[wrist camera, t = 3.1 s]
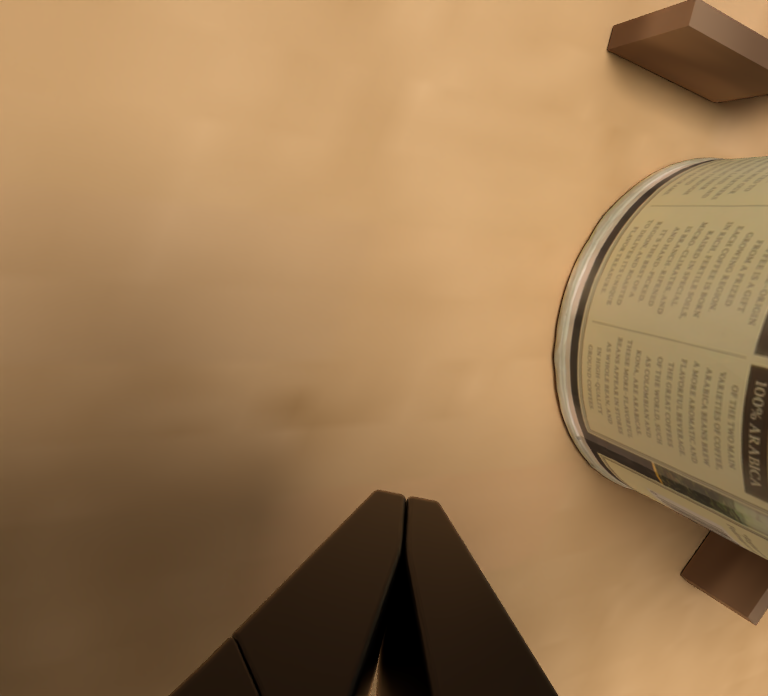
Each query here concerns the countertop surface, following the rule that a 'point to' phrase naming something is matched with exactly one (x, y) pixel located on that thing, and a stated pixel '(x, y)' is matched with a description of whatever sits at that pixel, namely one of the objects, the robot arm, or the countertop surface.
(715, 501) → the coffee can
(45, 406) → the countertop surface
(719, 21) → the walnut keeper
